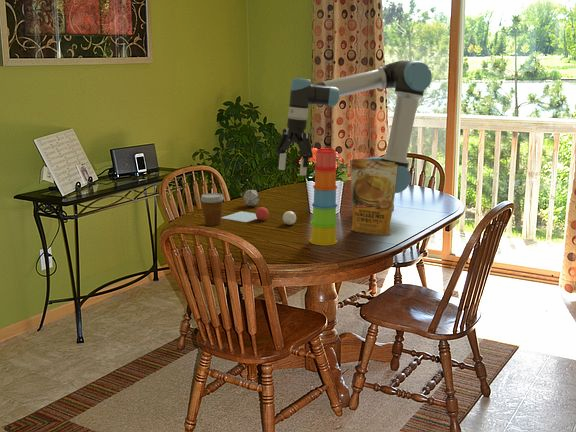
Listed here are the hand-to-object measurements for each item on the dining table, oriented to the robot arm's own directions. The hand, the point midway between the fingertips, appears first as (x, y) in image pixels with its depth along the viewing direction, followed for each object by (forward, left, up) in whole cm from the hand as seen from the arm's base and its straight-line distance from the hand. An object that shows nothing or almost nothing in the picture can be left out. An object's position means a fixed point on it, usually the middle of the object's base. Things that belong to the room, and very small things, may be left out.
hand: (292, 172), depth 281 cm
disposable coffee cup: (+30, +15, -22) cm, 40 cm away
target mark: (+27, -1, -22) cm, 34 cm away
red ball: (+17, -1, -19) cm, 25 cm away
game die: (+37, -19, -22) cm, 47 cm away
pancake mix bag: (-31, -8, -22) cm, 39 cm away
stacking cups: (-23, +14, -22) cm, 35 cm away
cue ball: (+3, -1, -19) cm, 19 cm away
